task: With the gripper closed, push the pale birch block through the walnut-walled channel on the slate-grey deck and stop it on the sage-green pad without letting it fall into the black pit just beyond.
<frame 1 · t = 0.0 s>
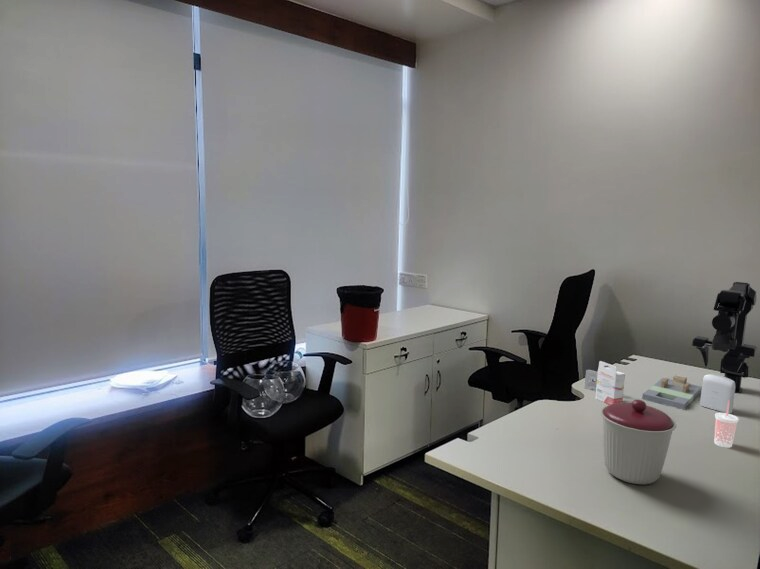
hand: (720, 369, 190), 15 cm above the table, tool pointing down, fingers open, 9 cm apart
cassette: (600, 392, 206), on the table
photo printer: (715, 409, 192), on the table
birch block: (679, 384, 211), point 2 cm above the table, touching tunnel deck
ink cartridge box: (608, 402, 196), on the table
beverage cup: (722, 444, 164), on the table
canister: (631, 475, 144), on the table
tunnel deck: (672, 395, 205), on the table
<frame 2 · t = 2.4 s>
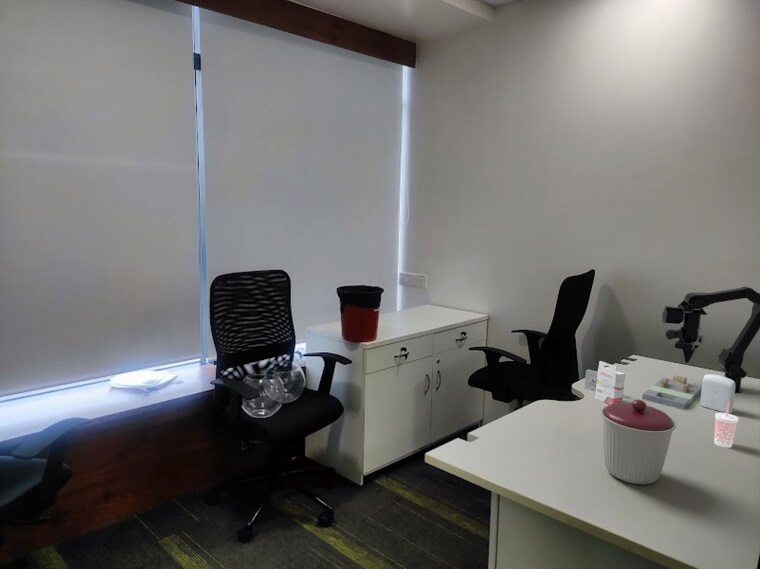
hand: (686, 362, 215), 9 cm above the table, tool pointing down, fingers closed
nothing on the table moved.
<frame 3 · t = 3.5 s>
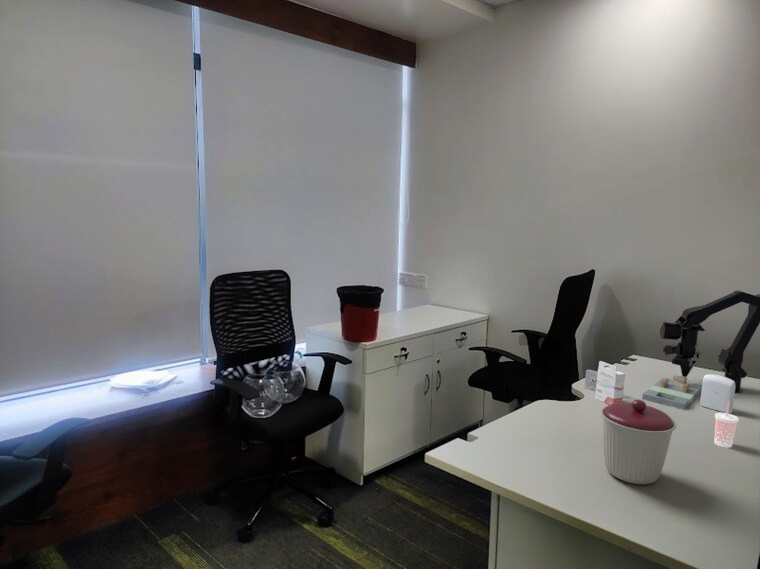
hand: (684, 377, 216), 3 cm above the table, tool pointing down, fingers closed
nothing on the table moved.
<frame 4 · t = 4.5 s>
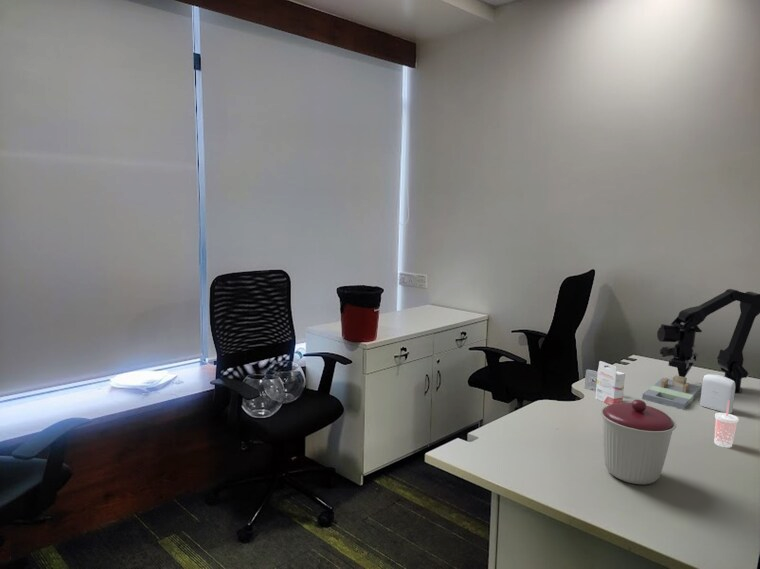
hand: (681, 380, 213), 3 cm above the table, tool pointing down, fingers closed
birch block: (678, 384, 210), point 2 cm above the table, touching gripper, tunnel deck
everything else where it was.
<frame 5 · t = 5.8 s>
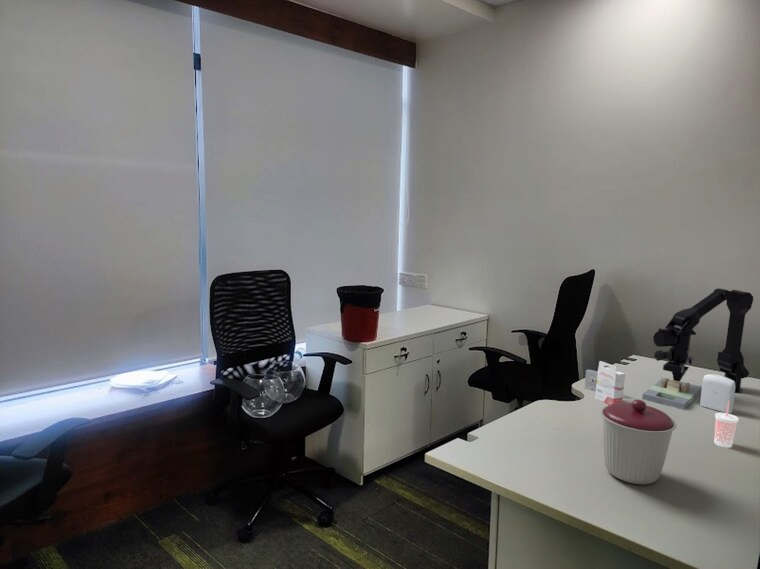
hand: (676, 384, 207), 3 cm above the table, tool pointing down, fingers closed
birch block: (673, 389, 205), point 2 cm above the table, touching gripper
everything else where it was.
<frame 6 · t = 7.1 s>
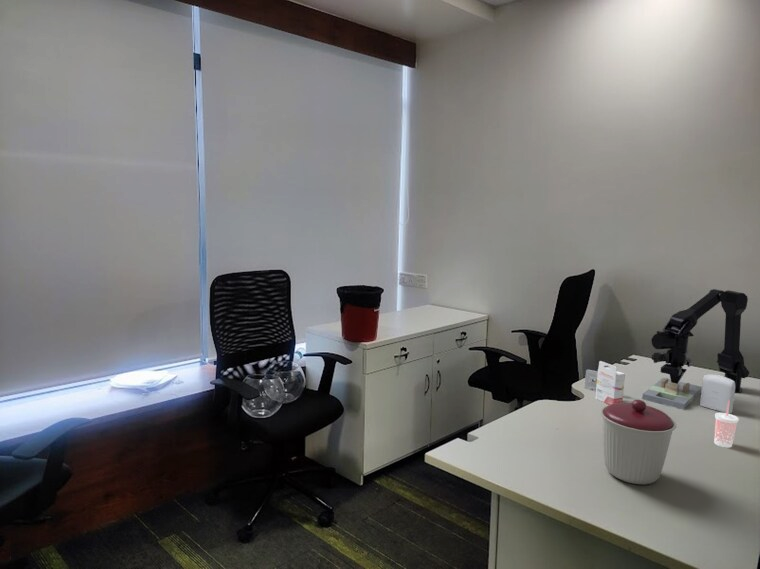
hand: (673, 387, 205), 3 cm above the table, tool pointing down, fingers closed
birch block: (671, 391, 202), point 2 cm above the table, touching gripper, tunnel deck
everything else where it was.
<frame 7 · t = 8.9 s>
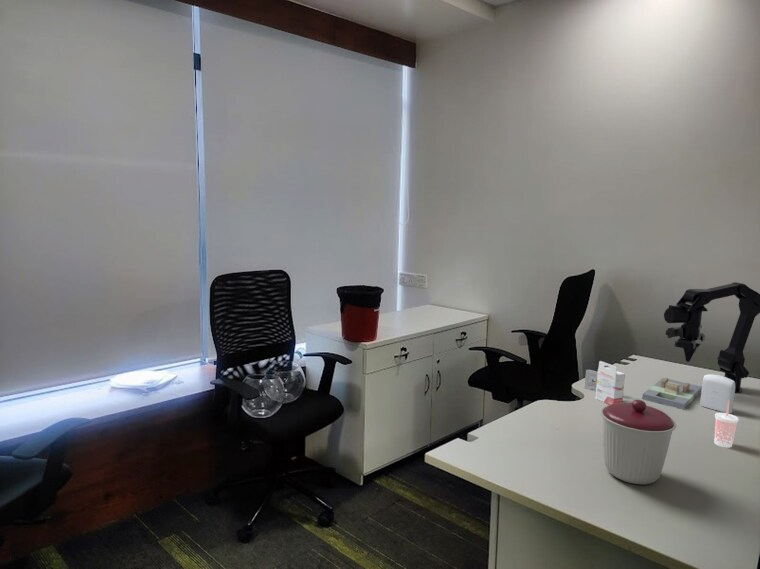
hand: (687, 361, 208), 12 cm above the table, tool pointing down, fingers closed
birch block: (671, 391, 202), point 2 cm above the table, touching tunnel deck
everything else where it was.
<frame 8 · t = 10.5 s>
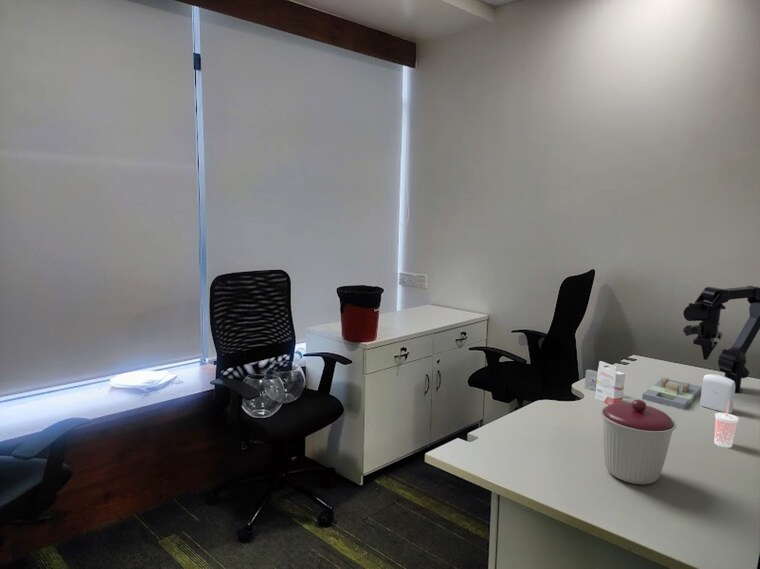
hand: (705, 359, 207), 13 cm above the table, tool pointing down, fingers closed
nothing on the table moved.
at the end: birch block 0.8 cm from the target spot, point 2.0 cm above the table; birch block tilted 0° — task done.
